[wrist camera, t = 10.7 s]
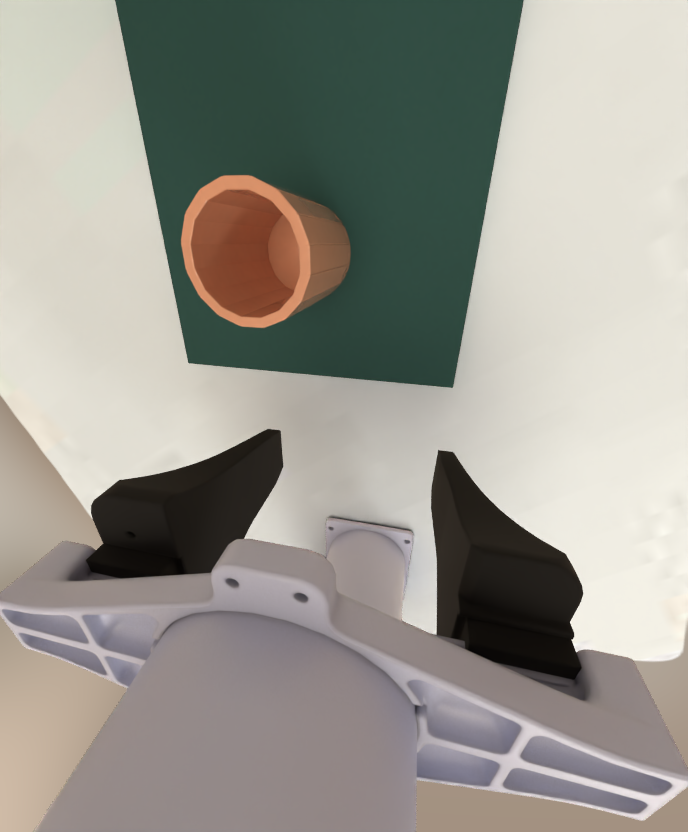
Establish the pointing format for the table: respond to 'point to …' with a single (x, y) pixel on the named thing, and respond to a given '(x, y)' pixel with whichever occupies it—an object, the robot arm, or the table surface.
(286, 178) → the mat
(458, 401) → the table surface
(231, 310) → the brown cup
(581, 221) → the table surface
